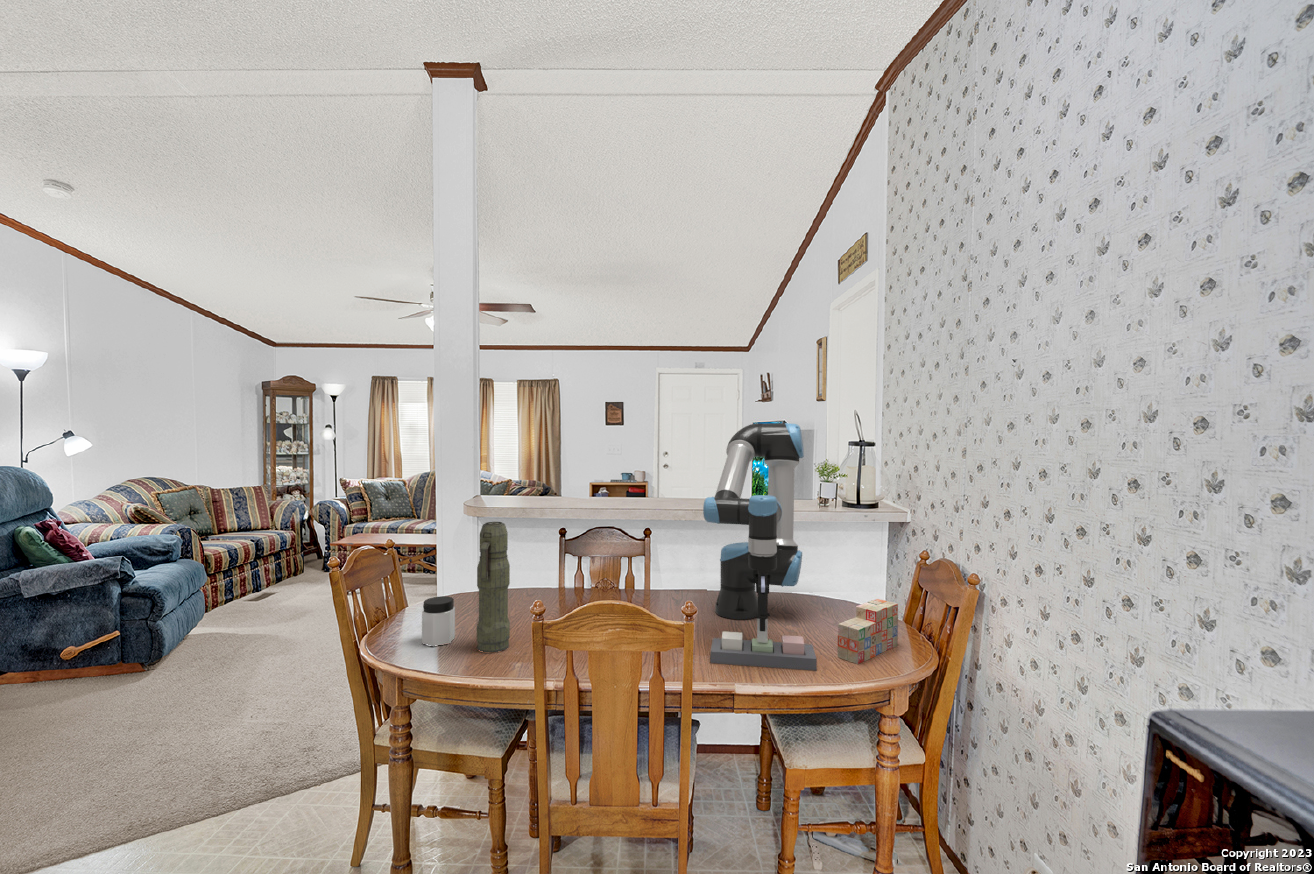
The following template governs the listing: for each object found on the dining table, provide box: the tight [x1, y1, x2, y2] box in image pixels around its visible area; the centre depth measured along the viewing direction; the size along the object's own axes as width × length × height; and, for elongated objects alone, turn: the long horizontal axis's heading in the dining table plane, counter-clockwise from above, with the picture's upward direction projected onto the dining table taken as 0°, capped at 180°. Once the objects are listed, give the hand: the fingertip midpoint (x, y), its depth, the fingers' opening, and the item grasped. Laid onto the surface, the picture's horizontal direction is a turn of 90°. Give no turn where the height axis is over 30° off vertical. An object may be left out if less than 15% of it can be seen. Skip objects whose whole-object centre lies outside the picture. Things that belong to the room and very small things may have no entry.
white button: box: [721, 630, 743, 651], centre depth 149 cm, size 5×5×4 cm
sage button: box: [751, 637, 774, 653], centre depth 148 cm, size 5×5×4 cm
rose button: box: [781, 634, 805, 655], centre depth 147 cm, size 5×5×4 cm
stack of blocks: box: [837, 598, 899, 665], centre depth 154 cm, size 21×6×12 cm, turn 130°
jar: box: [421, 595, 456, 646], centre depth 159 cm, size 9×8×12 cm
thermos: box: [476, 521, 511, 653], centre depth 155 cm, size 9×12×35 cm
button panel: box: [709, 637, 818, 672], centre depth 148 cm, size 27×10×3 cm, turn 80°
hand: (762, 641), depth 148 cm, fingers closed
